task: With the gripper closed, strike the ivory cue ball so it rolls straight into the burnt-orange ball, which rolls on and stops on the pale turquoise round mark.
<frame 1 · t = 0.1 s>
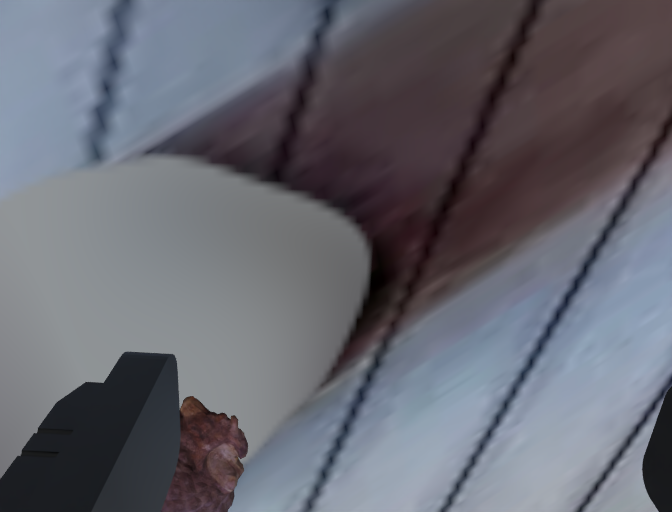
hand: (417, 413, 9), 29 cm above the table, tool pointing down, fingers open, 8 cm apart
pine cone: (183, 443, 46), on the table
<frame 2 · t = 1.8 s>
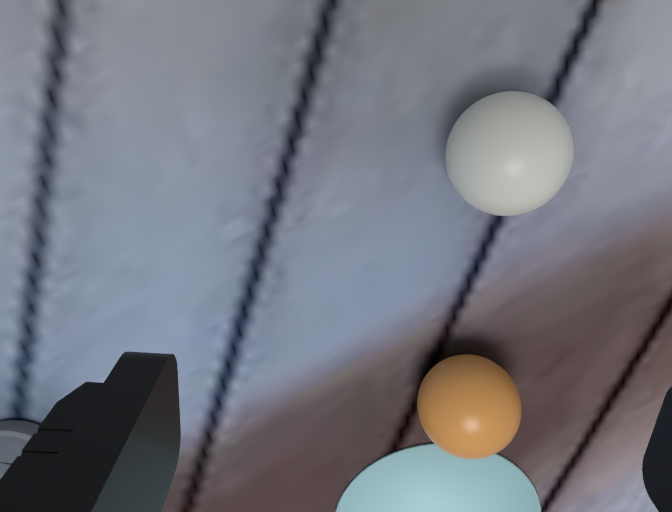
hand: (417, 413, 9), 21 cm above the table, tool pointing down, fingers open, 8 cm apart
travel mug: (26, 452, 36), on the table
cue ball: (507, 154, 26), on the table
object ball: (468, 405, 31), on the table
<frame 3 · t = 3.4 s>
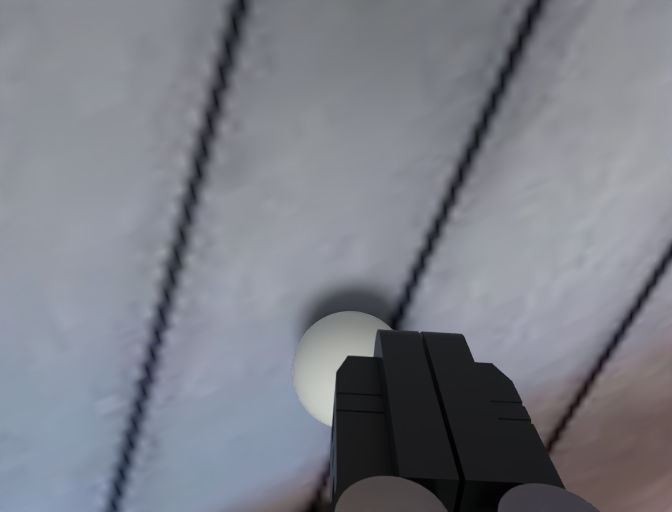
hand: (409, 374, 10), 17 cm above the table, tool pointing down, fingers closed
cue ball: (350, 369, 27), on the table
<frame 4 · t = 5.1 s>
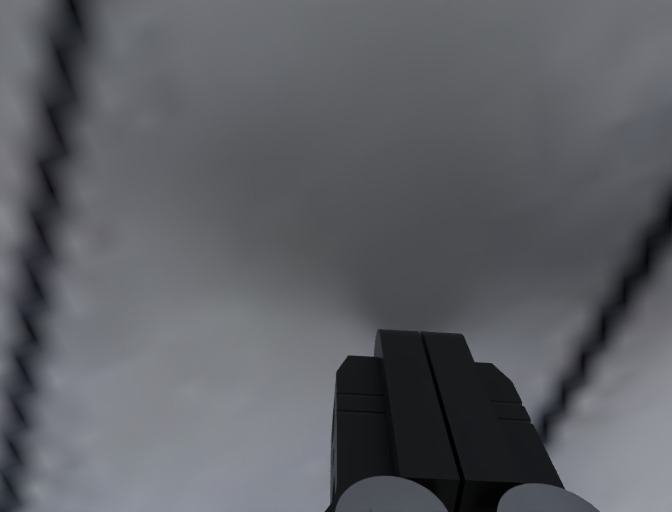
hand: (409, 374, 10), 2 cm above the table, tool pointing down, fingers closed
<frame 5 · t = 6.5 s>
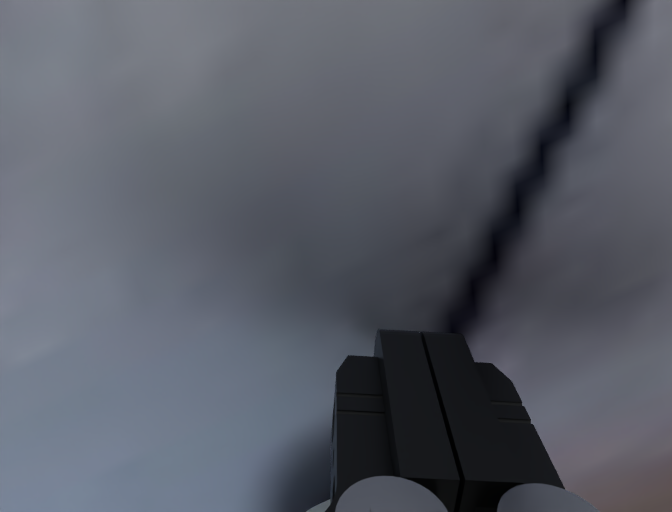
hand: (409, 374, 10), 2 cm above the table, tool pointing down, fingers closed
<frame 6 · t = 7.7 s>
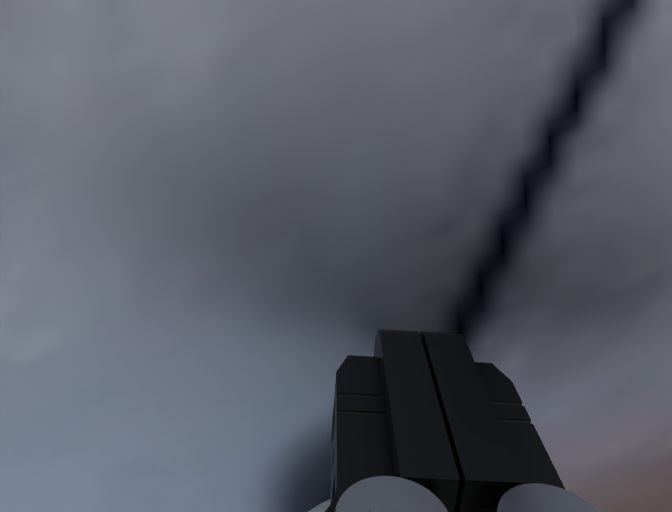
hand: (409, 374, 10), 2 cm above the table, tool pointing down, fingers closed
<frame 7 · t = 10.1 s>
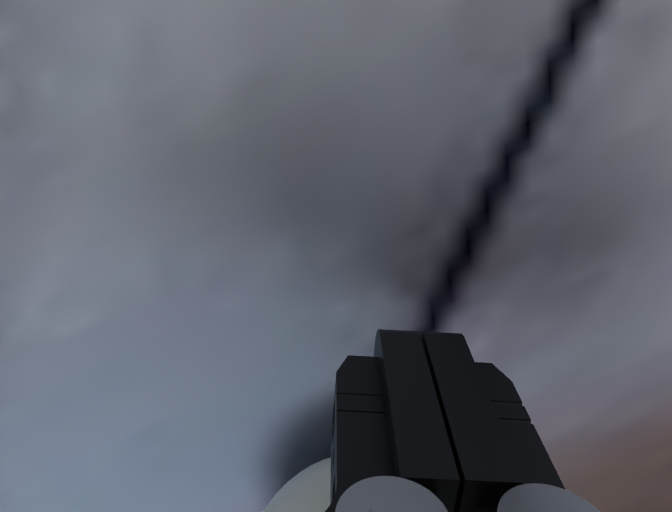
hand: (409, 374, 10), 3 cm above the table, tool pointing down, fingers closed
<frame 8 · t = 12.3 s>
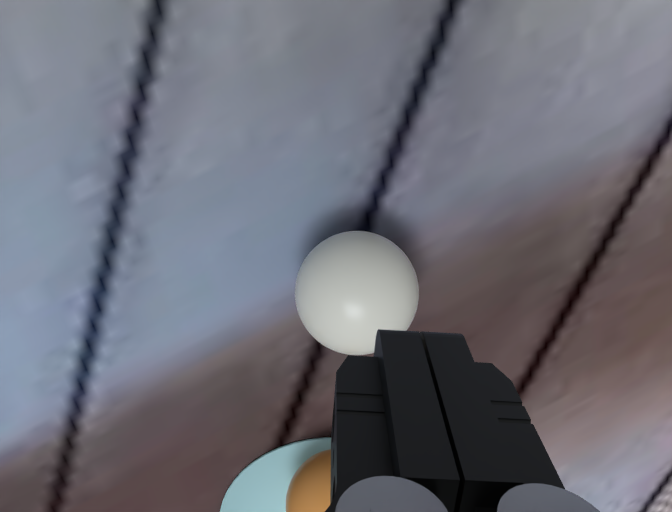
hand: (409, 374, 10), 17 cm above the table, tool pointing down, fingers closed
cue ball: (356, 292, 25), on the table
object ball: (337, 503, 30), on the table
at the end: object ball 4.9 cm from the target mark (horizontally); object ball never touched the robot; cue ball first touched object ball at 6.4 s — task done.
